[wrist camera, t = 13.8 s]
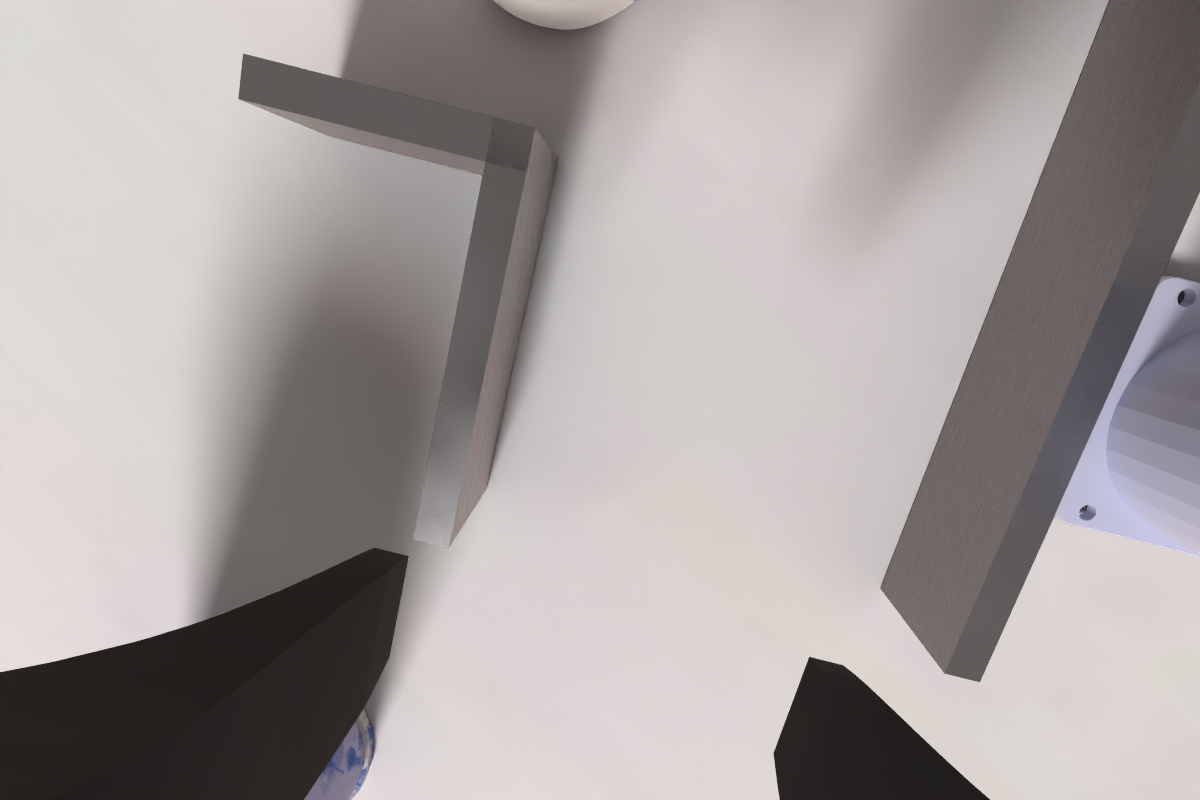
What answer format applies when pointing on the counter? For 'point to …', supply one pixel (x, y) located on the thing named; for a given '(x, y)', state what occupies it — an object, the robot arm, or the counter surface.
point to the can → (564, 11)
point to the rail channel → (999, 360)
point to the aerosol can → (347, 764)
